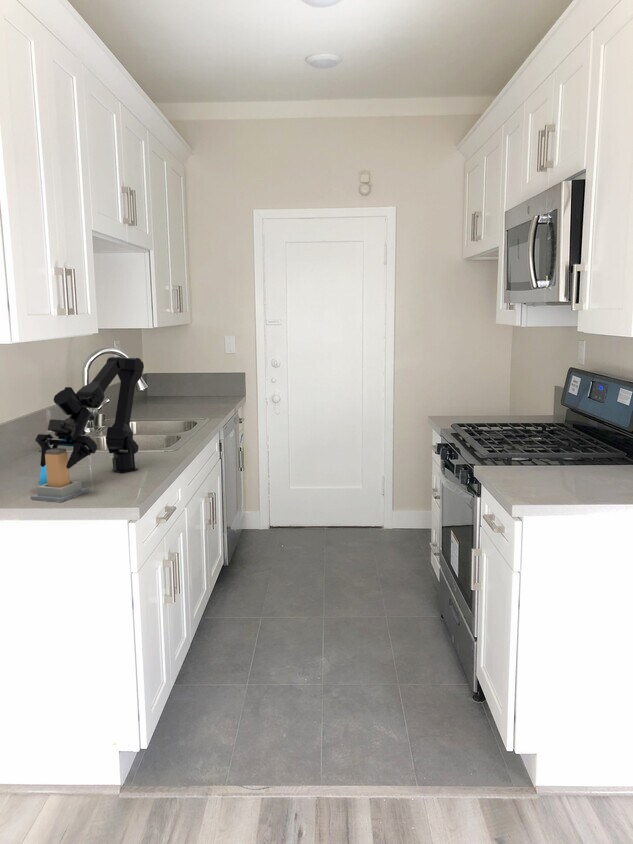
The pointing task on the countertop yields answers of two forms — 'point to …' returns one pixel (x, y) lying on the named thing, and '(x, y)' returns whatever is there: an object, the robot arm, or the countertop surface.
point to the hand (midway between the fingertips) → (54, 467)
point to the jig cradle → (59, 492)
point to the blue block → (43, 476)
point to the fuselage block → (57, 467)
